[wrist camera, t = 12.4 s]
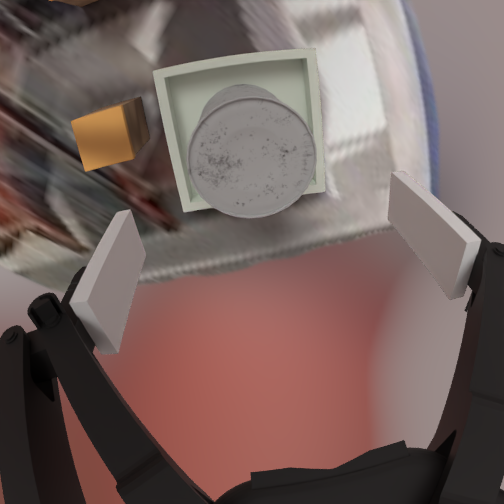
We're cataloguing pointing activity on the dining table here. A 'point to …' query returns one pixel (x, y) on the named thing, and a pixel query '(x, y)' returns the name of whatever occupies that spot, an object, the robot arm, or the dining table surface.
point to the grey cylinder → (250, 153)
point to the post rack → (110, 128)
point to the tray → (228, 74)
